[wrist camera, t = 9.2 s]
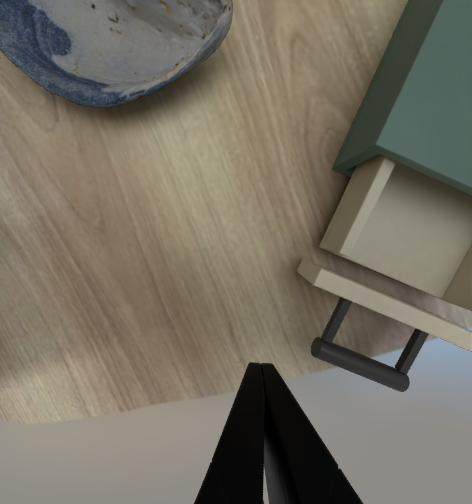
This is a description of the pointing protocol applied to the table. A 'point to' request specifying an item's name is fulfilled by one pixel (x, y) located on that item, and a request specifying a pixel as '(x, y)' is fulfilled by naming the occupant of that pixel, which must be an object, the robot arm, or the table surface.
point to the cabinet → (420, 97)
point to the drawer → (397, 260)
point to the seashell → (110, 44)
